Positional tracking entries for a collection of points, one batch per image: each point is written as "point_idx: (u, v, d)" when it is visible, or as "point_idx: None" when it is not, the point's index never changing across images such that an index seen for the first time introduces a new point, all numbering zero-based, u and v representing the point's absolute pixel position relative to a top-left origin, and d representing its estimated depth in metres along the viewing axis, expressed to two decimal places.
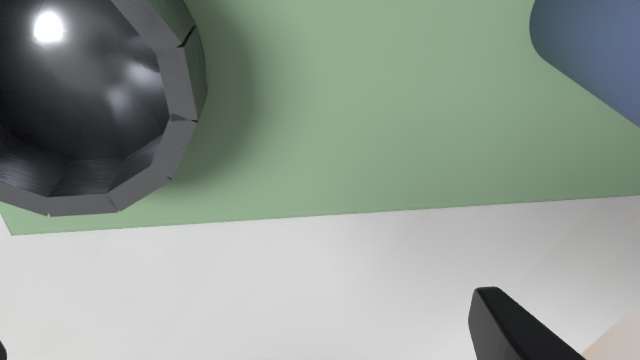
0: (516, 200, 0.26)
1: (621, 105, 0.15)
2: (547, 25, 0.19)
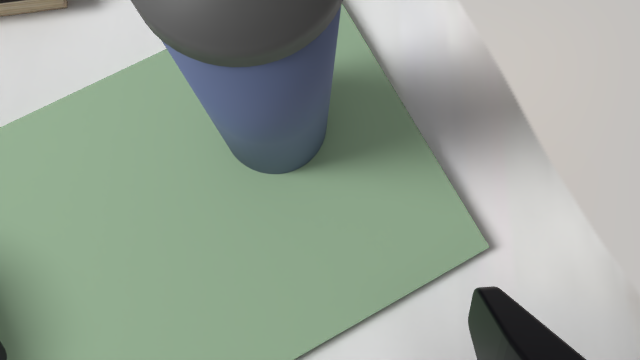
0: (353, 321, 0.21)
1: (224, 124, 0.16)
2: None
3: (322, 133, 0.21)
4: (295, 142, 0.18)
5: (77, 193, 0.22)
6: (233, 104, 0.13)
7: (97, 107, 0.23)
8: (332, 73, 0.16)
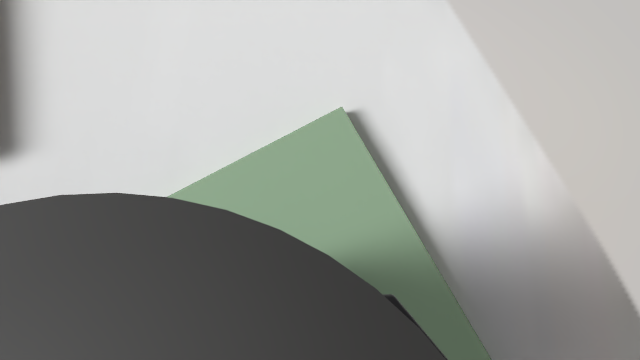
0: None
1: None
2: None
3: None
4: None
5: None
6: None
7: None
8: None
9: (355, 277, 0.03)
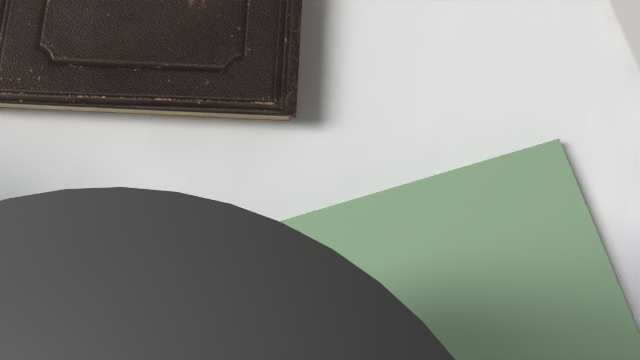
0: None
1: None
2: None
3: None
4: None
5: None
6: None
7: None
8: None
9: (360, 270, 0.03)
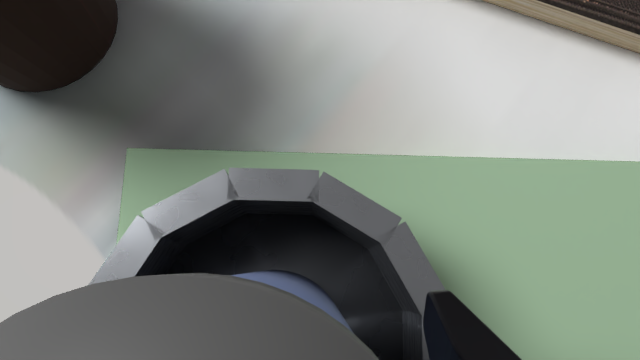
0: None
1: None
2: None
3: None
4: None
5: (608, 282, 0.18)
6: None
7: None
8: None
9: (343, 335, 0.04)
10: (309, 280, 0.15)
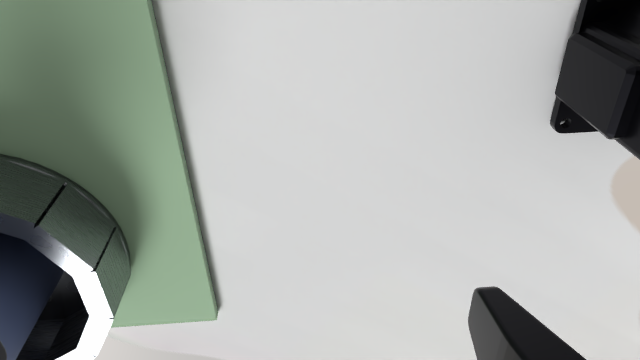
0: None
1: None
2: None
3: None
4: None
5: None
6: None
7: None
8: None
9: None
10: None
